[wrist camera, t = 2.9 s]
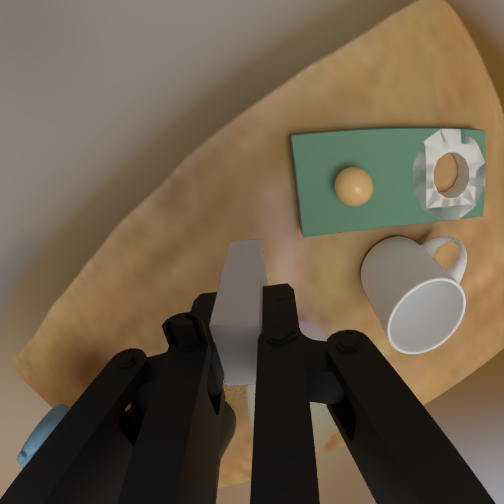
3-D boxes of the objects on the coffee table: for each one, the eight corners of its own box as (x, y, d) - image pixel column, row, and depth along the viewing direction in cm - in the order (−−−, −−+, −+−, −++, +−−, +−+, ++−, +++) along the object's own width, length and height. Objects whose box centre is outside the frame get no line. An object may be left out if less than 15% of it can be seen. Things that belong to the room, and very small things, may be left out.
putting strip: (300, 228, 34) (303, 236, 32) (289, 134, 30) (291, 135, 28) (471, 209, 32) (482, 216, 30) (472, 128, 28) (484, 130, 26)
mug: (452, 247, 34) (499, 290, 24) (384, 310, 38) (413, 366, 28) (419, 198, 32) (470, 232, 22) (344, 269, 36) (369, 325, 26)
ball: (332, 202, 30) (340, 213, 27) (329, 165, 29) (337, 172, 25) (367, 198, 30) (379, 209, 26) (365, 162, 28) (377, 169, 25)
